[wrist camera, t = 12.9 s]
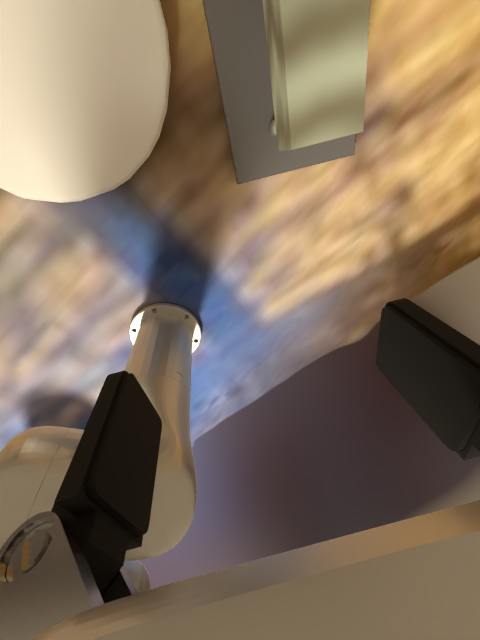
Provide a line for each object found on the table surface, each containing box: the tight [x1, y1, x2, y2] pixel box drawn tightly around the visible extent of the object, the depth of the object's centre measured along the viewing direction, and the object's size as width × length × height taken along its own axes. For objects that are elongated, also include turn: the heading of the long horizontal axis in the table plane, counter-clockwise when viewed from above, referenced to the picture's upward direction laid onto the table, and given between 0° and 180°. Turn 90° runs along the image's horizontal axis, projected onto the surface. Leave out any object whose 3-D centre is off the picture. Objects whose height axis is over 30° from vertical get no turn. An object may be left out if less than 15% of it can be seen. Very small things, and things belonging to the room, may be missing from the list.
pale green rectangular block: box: [262, 0, 370, 151], centre depth 22 cm, size 16×7×5 cm, turn 12°
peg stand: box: [203, 0, 355, 184], centre depth 26 cm, size 22×16×6 cm
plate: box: [0, 0, 171, 203], centre depth 24 cm, size 28×6×27 cm
